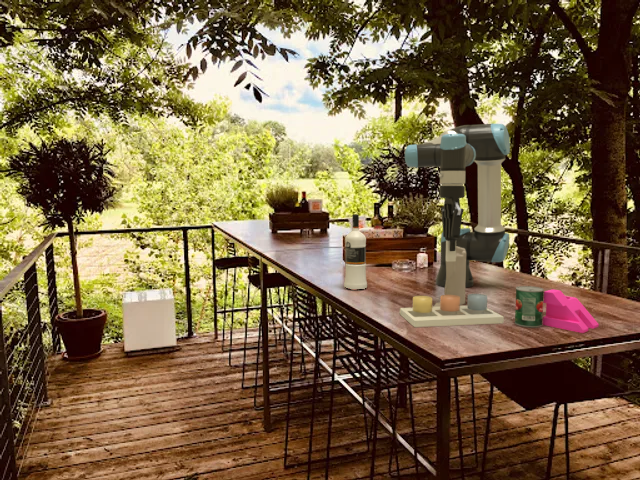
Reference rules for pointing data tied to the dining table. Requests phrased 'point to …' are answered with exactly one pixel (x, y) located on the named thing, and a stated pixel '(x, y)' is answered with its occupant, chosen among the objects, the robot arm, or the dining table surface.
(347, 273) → the vodka
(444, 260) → the robot arm
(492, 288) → the dining table surface
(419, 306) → the ochre button
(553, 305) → the bracket
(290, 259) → the dining table surface
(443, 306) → the terracotta button
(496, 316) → the panel
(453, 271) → the beige tall tapered piece
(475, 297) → the slate-blue button
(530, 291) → the canned tomato
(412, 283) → the dining table surface
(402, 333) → the dining table surface
